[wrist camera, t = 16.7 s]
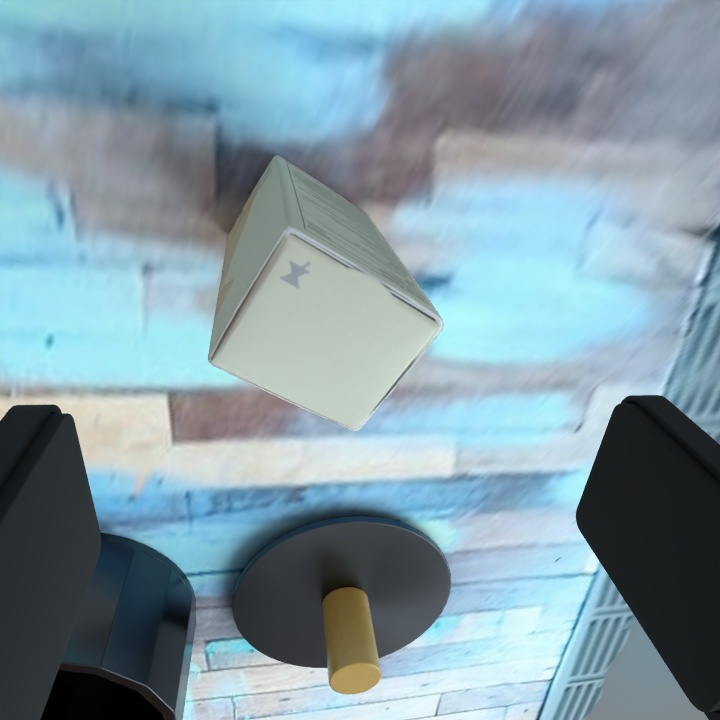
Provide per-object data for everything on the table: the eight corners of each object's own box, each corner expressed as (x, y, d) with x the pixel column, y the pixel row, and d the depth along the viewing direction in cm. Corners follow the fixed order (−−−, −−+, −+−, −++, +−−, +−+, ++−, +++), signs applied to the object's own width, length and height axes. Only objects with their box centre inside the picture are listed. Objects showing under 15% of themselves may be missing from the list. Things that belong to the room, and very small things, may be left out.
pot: (6, 704, 36) (-53, 845, 29) (-85, 501, 27) (-197, 637, 21) (206, 684, 38) (192, 811, 32) (182, 488, 29) (156, 609, 23)
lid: (238, 662, 37) (232, 760, 32) (228, 514, 31) (219, 608, 25) (431, 643, 40) (455, 732, 34) (462, 502, 33) (498, 585, 28)
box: (225, 237, 23) (190, 359, 13) (276, 149, 21) (279, 215, 12) (325, 296, 25) (359, 440, 15) (379, 220, 23) (452, 325, 14)
